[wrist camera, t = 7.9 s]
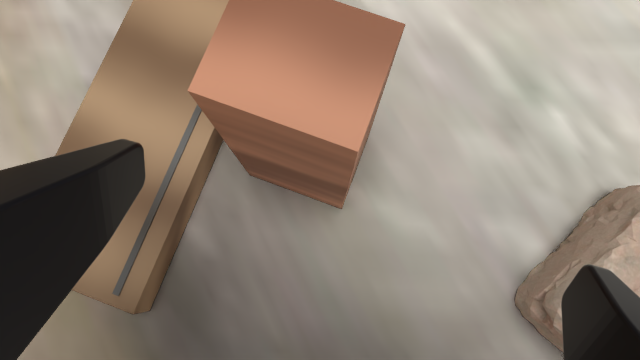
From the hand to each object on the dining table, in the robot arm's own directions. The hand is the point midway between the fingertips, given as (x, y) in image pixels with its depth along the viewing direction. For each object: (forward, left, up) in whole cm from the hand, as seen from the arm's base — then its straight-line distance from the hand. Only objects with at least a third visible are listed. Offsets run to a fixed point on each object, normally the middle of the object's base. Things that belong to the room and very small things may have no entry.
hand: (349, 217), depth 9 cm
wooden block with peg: (+6, +3, -14) cm, 15 cm away
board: (+5, +11, -14) cm, 18 cm away
